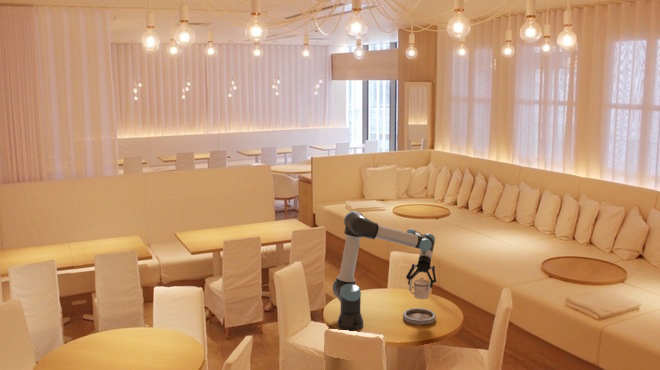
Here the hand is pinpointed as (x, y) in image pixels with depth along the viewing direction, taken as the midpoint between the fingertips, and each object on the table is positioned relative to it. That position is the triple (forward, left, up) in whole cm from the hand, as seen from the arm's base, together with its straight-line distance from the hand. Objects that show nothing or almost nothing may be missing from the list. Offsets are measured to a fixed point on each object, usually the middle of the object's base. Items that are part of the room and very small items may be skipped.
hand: (418, 291), depth 377 cm
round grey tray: (0, +3, -19) cm, 19 cm away
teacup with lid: (0, +3, -5) cm, 6 cm away
